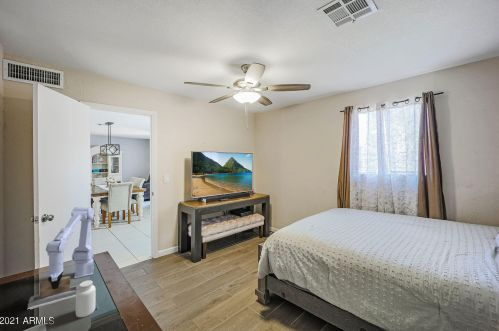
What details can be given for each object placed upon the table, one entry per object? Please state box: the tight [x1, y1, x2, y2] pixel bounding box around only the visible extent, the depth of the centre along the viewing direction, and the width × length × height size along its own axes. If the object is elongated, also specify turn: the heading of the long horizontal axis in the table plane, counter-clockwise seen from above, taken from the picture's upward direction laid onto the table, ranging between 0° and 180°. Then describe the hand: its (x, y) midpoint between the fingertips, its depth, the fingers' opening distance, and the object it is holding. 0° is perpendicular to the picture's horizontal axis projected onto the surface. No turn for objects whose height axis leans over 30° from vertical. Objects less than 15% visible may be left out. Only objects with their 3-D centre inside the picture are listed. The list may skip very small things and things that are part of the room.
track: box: [27, 283, 81, 310], centre depth 114 cm, size 20×8×3 cm, turn 128°
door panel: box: [38, 275, 71, 298], centre depth 114 cm, size 12×2×7 cm, turn 128°
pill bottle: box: [75, 279, 97, 318], centre depth 106 cm, size 8×8×15 cm
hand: (55, 287), depth 114 cm, fingers closed on door panel, 2 cm apart
